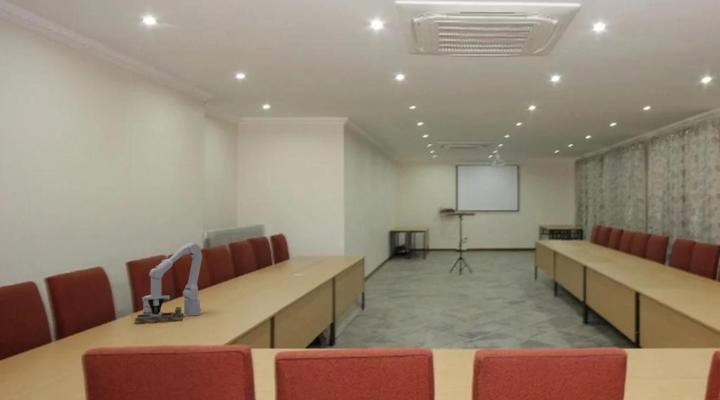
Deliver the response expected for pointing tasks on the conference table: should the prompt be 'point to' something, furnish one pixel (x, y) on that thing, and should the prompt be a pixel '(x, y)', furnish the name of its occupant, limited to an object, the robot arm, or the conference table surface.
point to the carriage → (156, 312)
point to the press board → (160, 317)
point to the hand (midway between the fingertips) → (156, 312)
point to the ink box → (148, 306)
